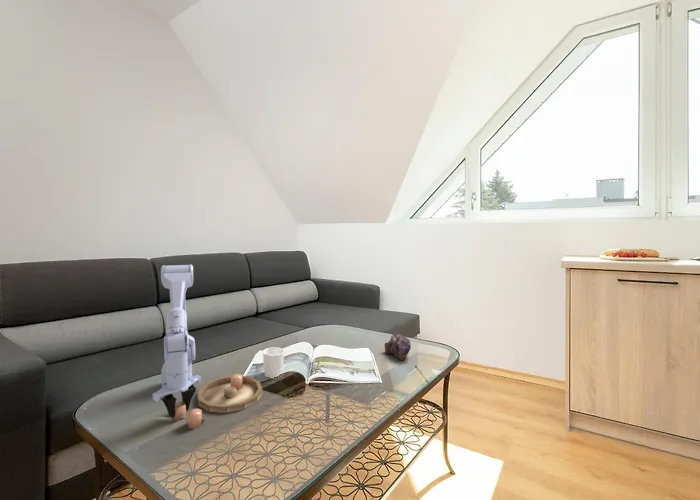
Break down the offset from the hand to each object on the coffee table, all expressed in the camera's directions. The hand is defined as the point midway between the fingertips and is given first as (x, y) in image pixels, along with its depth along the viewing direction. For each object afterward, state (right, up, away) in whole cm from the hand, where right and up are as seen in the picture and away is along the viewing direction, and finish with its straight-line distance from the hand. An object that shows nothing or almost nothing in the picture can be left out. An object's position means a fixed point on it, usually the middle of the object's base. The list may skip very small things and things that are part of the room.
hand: (178, 412), depth 116 cm
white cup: (+23, +2, +28) cm, 37 cm away
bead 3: (+12, +1, +18) cm, 22 cm away
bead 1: (0, -1, 0) cm, 1 cm away
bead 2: (+6, -2, -3) cm, 7 cm away
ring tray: (+12, 0, +12) cm, 17 cm away
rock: (+74, +3, +51) cm, 90 cm away
